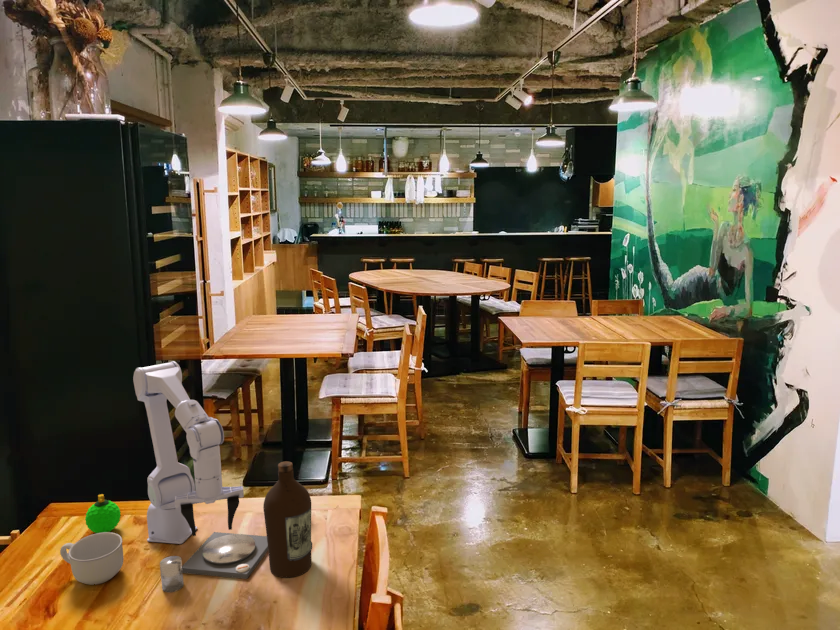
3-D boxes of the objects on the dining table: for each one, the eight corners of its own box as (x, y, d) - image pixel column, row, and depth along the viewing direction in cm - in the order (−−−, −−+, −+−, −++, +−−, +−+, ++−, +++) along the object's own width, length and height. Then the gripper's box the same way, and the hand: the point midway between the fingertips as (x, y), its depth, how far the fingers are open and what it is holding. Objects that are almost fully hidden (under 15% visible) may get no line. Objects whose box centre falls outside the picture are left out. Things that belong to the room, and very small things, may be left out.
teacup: (136, 568, 147) (132, 536, 146) (98, 595, 137) (94, 561, 136) (89, 557, 152) (85, 526, 150) (49, 583, 142) (45, 550, 140)
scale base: (180, 572, 145) (180, 566, 145) (214, 536, 161) (213, 530, 160) (247, 578, 142) (246, 572, 142) (274, 541, 158) (274, 535, 158)
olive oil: (257, 568, 147) (251, 465, 142) (294, 549, 154) (289, 451, 150) (286, 585, 140) (280, 478, 135) (323, 564, 148) (319, 462, 143)
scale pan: (192, 561, 146) (192, 559, 146) (217, 534, 158) (217, 532, 158) (242, 566, 144) (241, 563, 144) (263, 538, 156) (263, 536, 156)
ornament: (108, 521, 169) (104, 485, 167) (129, 528, 165) (125, 491, 163) (79, 535, 162) (75, 498, 160) (101, 543, 158) (97, 505, 156)
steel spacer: (158, 591, 138) (155, 566, 137) (169, 579, 143) (166, 555, 142) (176, 593, 138) (174, 567, 137) (187, 581, 142) (185, 556, 141)
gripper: (172, 487, 136) (177, 545, 138) (243, 476, 141) (246, 533, 143) (173, 473, 142) (178, 530, 145) (240, 464, 147) (244, 518, 150)
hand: (212, 530), depth 144 cm, fingers open, 7 cm apart
